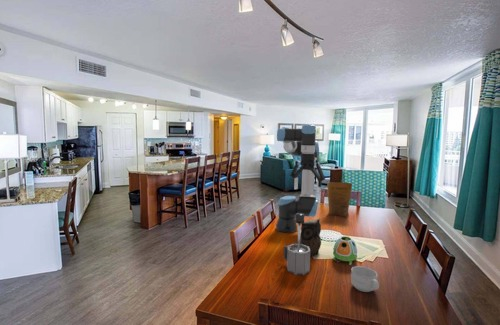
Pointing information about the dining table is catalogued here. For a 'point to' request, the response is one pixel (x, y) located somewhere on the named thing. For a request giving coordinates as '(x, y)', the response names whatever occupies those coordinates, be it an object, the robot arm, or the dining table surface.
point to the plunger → (299, 231)
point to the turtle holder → (345, 249)
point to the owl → (311, 236)
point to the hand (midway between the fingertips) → (306, 190)
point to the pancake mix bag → (339, 198)
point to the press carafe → (297, 259)
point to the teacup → (364, 279)
